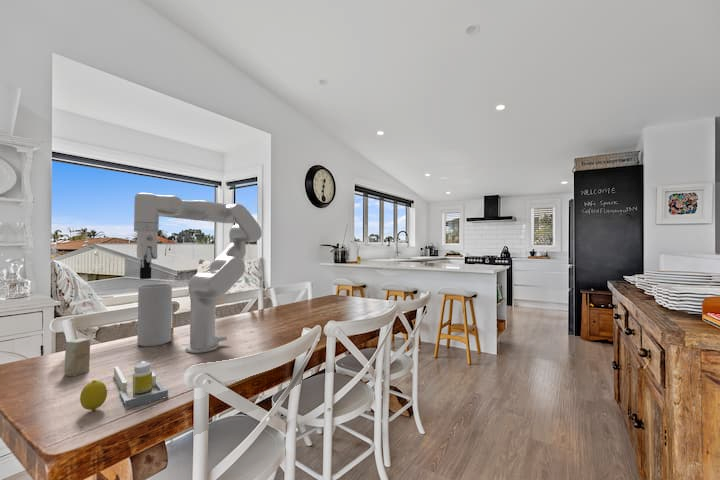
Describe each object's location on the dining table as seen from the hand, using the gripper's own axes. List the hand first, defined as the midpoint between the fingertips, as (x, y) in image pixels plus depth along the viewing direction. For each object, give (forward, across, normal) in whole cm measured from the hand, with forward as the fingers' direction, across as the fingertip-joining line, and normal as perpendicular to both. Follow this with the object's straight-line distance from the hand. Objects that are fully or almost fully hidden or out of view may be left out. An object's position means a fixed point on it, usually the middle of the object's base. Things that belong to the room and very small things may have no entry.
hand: (145, 278), depth 120 cm
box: (+31, +6, +18) cm, 37 cm away
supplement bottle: (+31, -26, +5) cm, 41 cm away
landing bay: (+31, -28, +5) cm, 42 cm away
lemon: (+31, -29, +16) cm, 46 cm away
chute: (+31, -14, +5) cm, 34 cm away
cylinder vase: (+31, +28, -9) cm, 43 cm away
